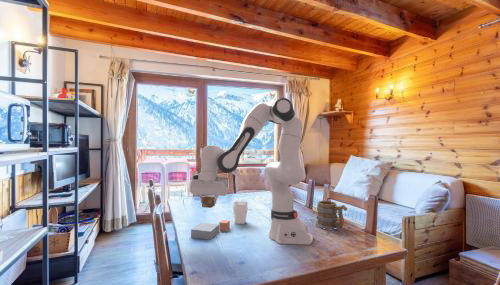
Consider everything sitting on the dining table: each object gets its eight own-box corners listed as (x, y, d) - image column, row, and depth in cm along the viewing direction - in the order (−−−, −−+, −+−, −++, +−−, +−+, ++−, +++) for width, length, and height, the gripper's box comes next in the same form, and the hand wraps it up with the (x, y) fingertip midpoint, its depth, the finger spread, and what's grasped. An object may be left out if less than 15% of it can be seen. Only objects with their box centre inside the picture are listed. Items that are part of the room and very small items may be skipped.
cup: (239, 219, 152) (239, 200, 152) (250, 221, 147) (250, 202, 147) (229, 222, 145) (230, 203, 145) (241, 225, 139) (241, 205, 139)
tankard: (311, 224, 143) (311, 199, 143) (326, 221, 148) (326, 197, 149) (337, 235, 125) (337, 207, 125) (353, 232, 131) (353, 204, 131)
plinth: (219, 231, 129) (219, 224, 129) (210, 239, 119) (210, 231, 119) (200, 229, 132) (200, 222, 132) (191, 237, 122) (191, 229, 122)
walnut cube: (214, 205, 123) (215, 196, 123) (211, 207, 119) (211, 197, 119) (206, 204, 125) (206, 195, 125) (201, 207, 120) (202, 197, 120)
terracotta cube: (229, 228, 135) (229, 220, 135) (226, 231, 131) (226, 223, 131) (222, 227, 136) (222, 220, 136) (219, 230, 132) (219, 222, 132)
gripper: (230, 176, 123) (229, 203, 122) (194, 174, 127) (193, 200, 127) (226, 178, 116) (225, 206, 116) (188, 176, 121) (187, 203, 121)
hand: (208, 203), depth 122 cm, fingers closed on walnut cube, 5 cm apart
